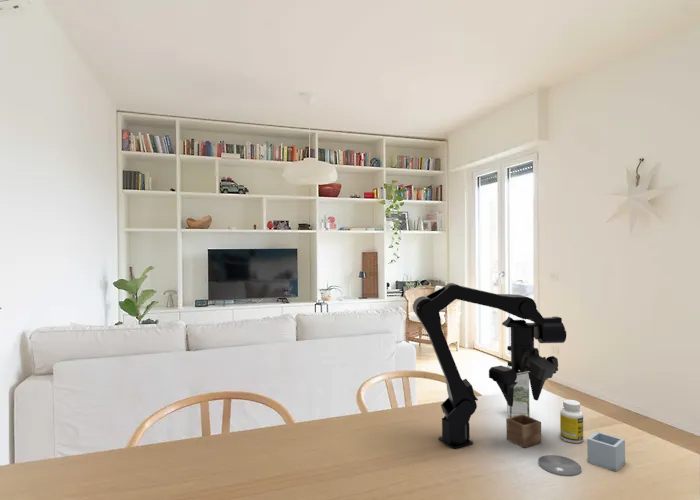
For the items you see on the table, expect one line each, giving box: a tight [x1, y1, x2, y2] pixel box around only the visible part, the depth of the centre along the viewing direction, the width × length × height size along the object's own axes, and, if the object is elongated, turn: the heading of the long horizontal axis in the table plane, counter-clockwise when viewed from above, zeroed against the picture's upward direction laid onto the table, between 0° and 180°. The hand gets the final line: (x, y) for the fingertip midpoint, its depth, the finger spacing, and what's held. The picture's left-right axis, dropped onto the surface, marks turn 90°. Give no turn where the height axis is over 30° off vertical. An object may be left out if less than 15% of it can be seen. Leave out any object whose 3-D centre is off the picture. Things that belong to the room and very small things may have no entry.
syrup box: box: [506, 365, 531, 418], centre depth 130 cm, size 6×6×14 cm
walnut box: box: [505, 414, 543, 449], centre depth 113 cm, size 6×6×6 cm
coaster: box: [537, 454, 582, 477], centre depth 100 cm, size 9×9×1 cm
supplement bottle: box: [559, 399, 584, 444], centre depth 114 cm, size 5×5×10 cm
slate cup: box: [586, 431, 626, 473], centre depth 101 cm, size 6×6×6 cm
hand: (523, 403), depth 113 cm, fingers open, 9 cm apart
